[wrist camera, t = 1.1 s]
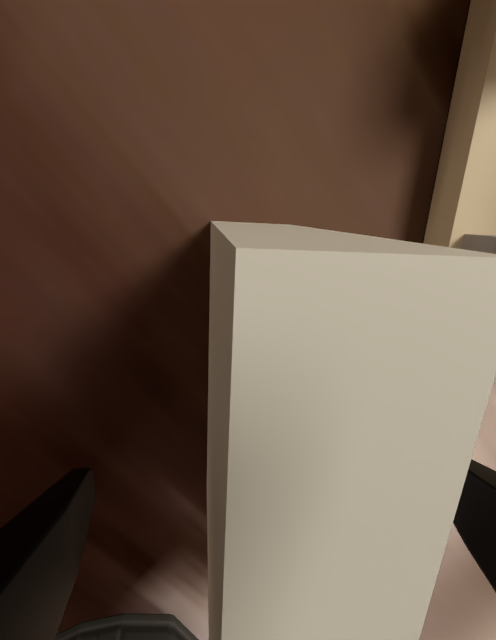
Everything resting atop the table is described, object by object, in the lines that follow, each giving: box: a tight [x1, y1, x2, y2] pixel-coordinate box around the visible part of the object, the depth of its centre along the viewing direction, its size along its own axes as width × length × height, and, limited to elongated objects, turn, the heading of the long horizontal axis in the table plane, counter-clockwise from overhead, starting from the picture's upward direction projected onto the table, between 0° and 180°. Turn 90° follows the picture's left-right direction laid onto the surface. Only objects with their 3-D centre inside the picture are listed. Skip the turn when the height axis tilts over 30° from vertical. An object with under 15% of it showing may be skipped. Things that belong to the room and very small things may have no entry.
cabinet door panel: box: [207, 221, 496, 640], centre depth 10 cm, size 3×12×10 cm, turn 177°
